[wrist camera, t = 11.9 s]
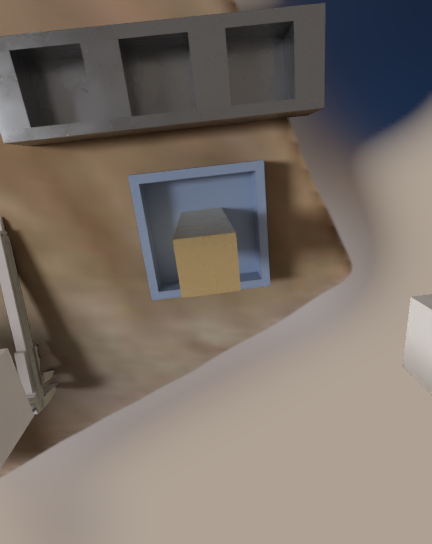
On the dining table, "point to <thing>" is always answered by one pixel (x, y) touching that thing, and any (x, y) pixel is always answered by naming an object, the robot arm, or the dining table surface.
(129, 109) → the socket rail
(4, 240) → the caliper
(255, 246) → the tray
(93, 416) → the dining table surface
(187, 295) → the brass peg
